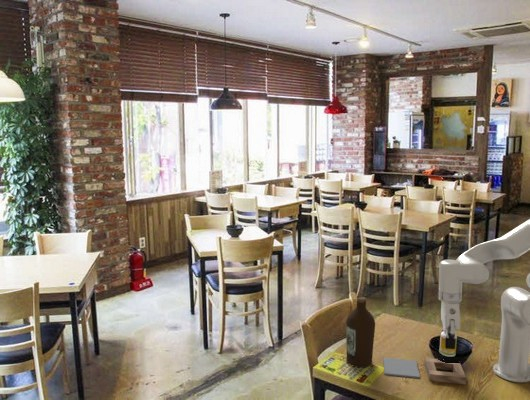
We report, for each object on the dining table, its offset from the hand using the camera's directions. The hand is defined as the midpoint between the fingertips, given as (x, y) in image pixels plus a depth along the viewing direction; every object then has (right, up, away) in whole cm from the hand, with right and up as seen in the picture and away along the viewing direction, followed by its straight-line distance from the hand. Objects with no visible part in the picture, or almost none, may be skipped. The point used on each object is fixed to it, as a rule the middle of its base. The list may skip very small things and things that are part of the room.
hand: (448, 344), depth 166 cm
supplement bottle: (0, -4, +1) cm, 4 cm away
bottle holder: (-1, -11, +2) cm, 11 cm away
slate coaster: (-15, -11, +5) cm, 19 cm away
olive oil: (-30, -10, +10) cm, 33 cm away
